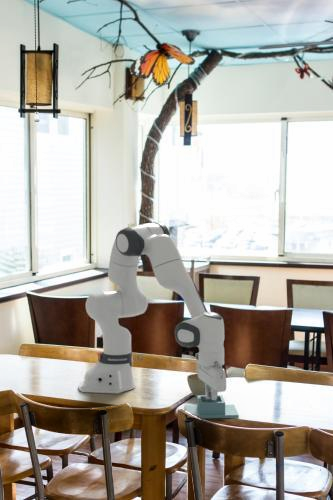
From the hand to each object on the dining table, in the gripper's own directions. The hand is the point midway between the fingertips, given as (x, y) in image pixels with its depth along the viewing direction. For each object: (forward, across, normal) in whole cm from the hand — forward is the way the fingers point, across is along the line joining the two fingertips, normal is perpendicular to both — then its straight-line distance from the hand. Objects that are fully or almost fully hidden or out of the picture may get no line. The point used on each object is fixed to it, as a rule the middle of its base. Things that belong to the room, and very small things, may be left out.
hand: (211, 397), depth 250 cm
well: (+6, +1, 0) cm, 6 cm away
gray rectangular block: (+5, +1, 0) cm, 5 cm away
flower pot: (+6, +23, -4) cm, 24 cm away
